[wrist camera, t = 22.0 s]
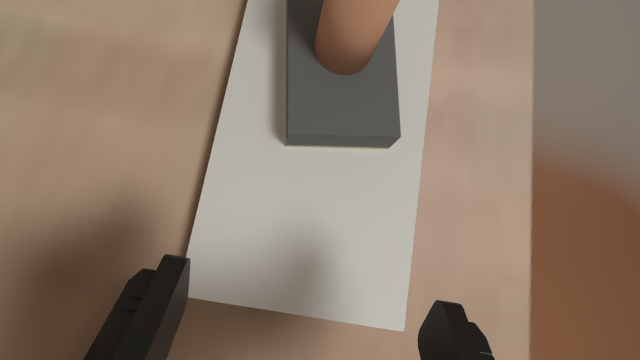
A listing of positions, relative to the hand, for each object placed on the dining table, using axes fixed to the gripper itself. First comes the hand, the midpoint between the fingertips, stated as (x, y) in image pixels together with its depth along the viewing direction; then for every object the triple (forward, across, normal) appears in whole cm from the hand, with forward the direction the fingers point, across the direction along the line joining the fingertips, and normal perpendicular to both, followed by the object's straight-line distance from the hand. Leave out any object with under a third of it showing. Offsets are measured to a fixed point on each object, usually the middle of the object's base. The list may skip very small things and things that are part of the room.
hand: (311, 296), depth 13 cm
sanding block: (+15, 0, -3) cm, 15 cm away
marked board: (+15, 0, -1) cm, 15 cm away
